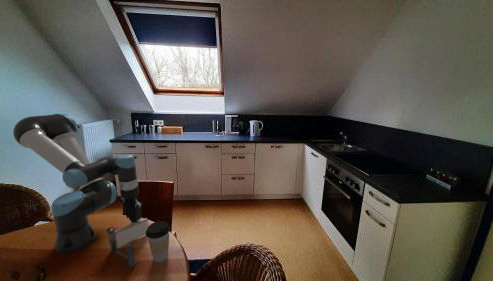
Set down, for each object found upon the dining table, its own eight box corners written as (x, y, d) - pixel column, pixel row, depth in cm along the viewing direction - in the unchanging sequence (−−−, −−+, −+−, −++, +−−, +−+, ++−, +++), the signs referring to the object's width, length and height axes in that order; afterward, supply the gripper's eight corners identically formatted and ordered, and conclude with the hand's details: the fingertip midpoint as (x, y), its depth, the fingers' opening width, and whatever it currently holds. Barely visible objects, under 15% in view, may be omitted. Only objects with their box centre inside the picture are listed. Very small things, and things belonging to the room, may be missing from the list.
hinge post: (108, 251, 96) (104, 230, 94) (115, 246, 99) (112, 226, 97) (112, 254, 95) (109, 232, 92) (119, 249, 98) (116, 228, 95)
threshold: (114, 252, 96) (114, 251, 96) (117, 250, 97) (117, 250, 97) (135, 263, 90) (135, 263, 90) (137, 262, 90) (137, 261, 90)
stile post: (128, 266, 89) (125, 245, 86) (132, 263, 90) (129, 242, 88) (131, 267, 88) (128, 246, 85) (135, 265, 89) (132, 244, 87)
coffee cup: (164, 267, 88) (161, 235, 84) (144, 264, 90) (139, 232, 86) (176, 251, 97) (173, 221, 93) (157, 248, 99) (154, 218, 95)
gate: (117, 247, 97) (115, 232, 96) (116, 246, 98) (114, 231, 96) (149, 232, 107) (147, 218, 105) (147, 231, 108) (146, 217, 106)
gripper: (112, 187, 101) (120, 231, 107) (130, 193, 95) (137, 240, 101) (127, 181, 107) (133, 223, 113) (145, 187, 102) (150, 230, 107)
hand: (135, 231), depth 107 cm, fingers closed
